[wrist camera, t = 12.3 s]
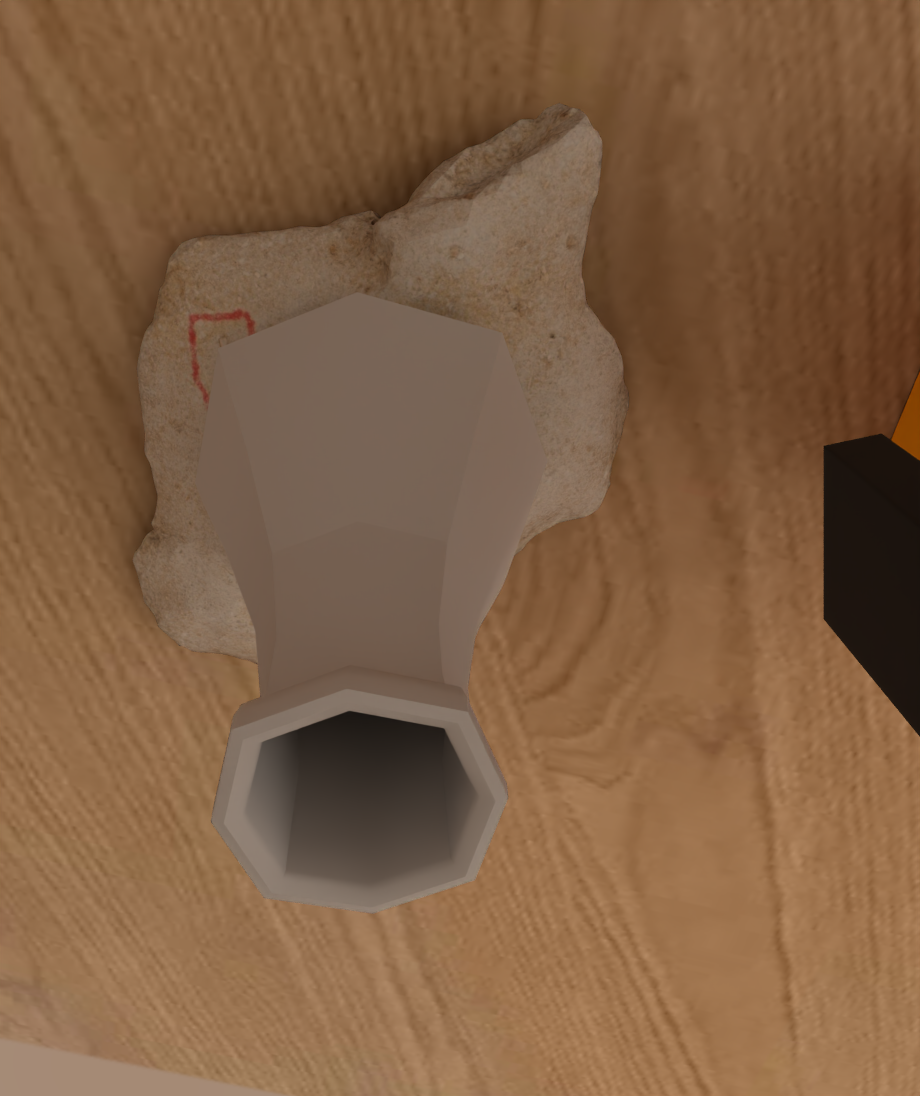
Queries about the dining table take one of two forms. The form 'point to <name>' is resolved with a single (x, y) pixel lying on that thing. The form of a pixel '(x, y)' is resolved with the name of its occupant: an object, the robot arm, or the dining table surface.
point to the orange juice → (910, 423)
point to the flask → (365, 593)
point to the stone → (408, 279)
